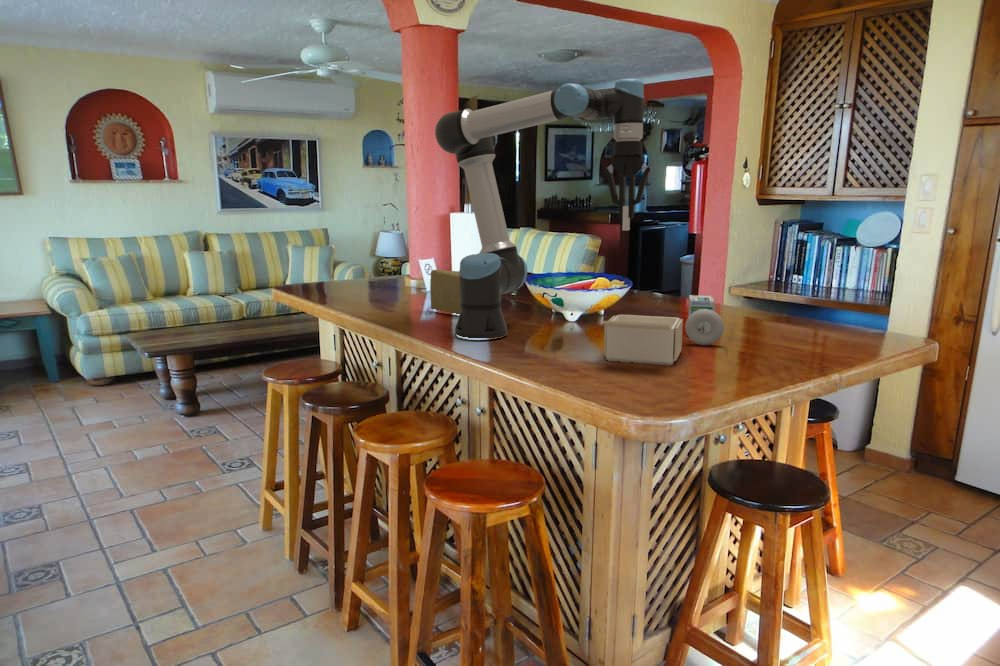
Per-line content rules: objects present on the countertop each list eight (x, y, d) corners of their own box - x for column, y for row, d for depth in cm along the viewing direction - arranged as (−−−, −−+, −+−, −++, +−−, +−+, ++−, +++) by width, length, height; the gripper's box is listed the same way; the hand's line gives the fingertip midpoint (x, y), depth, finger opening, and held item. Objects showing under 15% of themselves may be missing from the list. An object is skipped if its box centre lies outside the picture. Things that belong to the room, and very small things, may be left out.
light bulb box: (714, 339, 193) (716, 301, 191) (689, 338, 194) (691, 300, 192) (710, 331, 203) (712, 295, 201) (687, 330, 204) (688, 294, 202)
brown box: (422, 314, 237) (421, 270, 234) (440, 309, 245) (439, 267, 242) (474, 320, 225) (473, 274, 222) (491, 315, 232) (490, 271, 229)
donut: (684, 345, 185) (685, 309, 183) (684, 342, 188) (686, 306, 186) (723, 348, 182) (725, 310, 180) (723, 345, 185) (725, 308, 183)
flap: (608, 326, 168) (601, 322, 160) (608, 324, 168) (601, 320, 160) (671, 330, 163) (667, 326, 155) (671, 328, 163) (667, 324, 155)
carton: (602, 360, 171) (603, 324, 169) (614, 347, 184) (615, 314, 183) (675, 365, 165) (677, 329, 163) (682, 351, 178) (683, 317, 176)
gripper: (600, 140, 182) (599, 230, 187) (650, 139, 178) (648, 231, 183) (606, 142, 189) (605, 229, 194) (654, 140, 184) (652, 229, 189)
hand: (626, 230), depth 188 cm, fingers closed
